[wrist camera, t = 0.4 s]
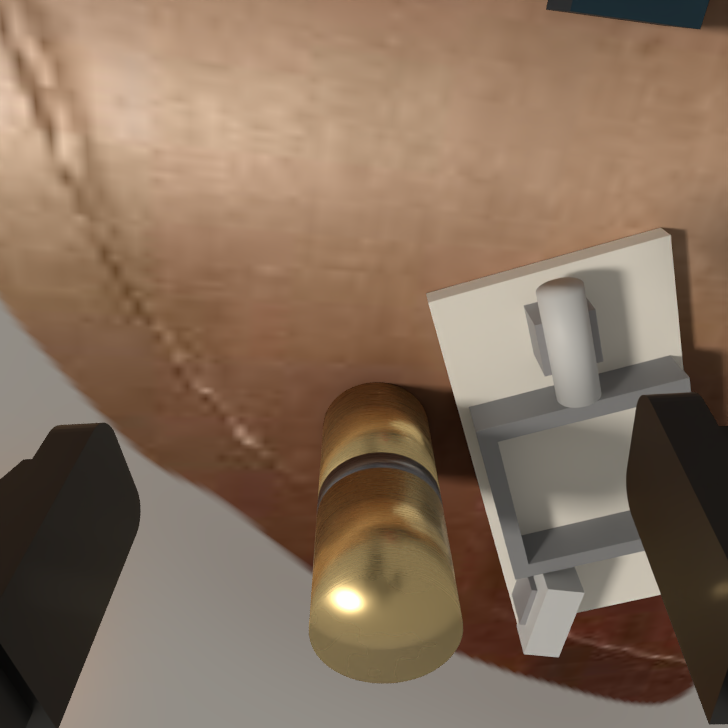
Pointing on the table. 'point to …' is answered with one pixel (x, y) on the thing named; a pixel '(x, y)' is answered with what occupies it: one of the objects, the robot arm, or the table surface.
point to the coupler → (381, 542)
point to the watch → (639, 10)
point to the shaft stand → (563, 418)
